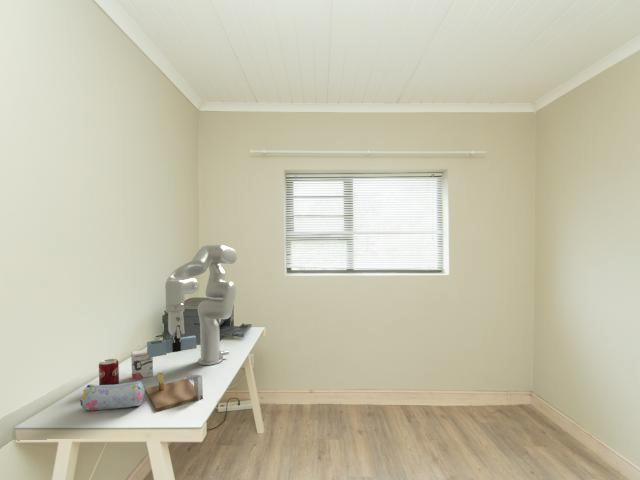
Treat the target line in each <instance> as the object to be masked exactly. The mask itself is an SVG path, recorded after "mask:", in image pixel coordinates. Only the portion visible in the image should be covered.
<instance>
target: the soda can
mask: <svg viewBox="0 0 640 480" xmlns="http://www.w3.org/2000/svg"><path fill="white" fill-rule="evenodd" d="M119 365H120V363H119V360H118V359H117V358H107V359H104V360H101V361H100V362H99V363H98V385H115V384H120V375H119V373H120V372H119V371H120V367H119Z"/></svg>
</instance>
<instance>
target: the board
mask: <svg viewBox="0 0 640 480" xmlns="http://www.w3.org/2000/svg"><path fill="white" fill-rule="evenodd" d="M145 394H146V396H147V397H148V399H149V401H150V402H151V404H152V406H153V407H154V409H155V411H156V413H157V412H160V411H163V410H164V411H165V410H167V409H171V408H174V407H175V408H176V407H178V406H181V405H186V404H189V403H192V402H195V401H198V400H197V397H194V383H192V381H191V380H187V378H183V379H179V380H175V381H171V382H168V383H164V390H163V391H159V384H158V385H155V386H151V387H145ZM203 396H204V395H202V396H201V399H200V400H202V399H204V397H203Z"/></svg>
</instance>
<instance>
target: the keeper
mask: <svg viewBox="0 0 640 480" xmlns="http://www.w3.org/2000/svg"><path fill="white" fill-rule="evenodd" d="M186 379H187V380H189V381H191V382H192V381H193V385H194V397H197V400H196V401H197V402H198V401H201V400H202V399H201V396H202V395H203V392H204V391H203V386H204V385H203V375H198V374H189V375H187V376H186ZM203 396H204V395H203Z"/></svg>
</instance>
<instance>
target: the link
mask: <svg viewBox="0 0 640 480" xmlns="http://www.w3.org/2000/svg"><path fill="white" fill-rule="evenodd" d="M180 339H181V351H180V352H184V351H188V350H194V349H197V336H196V335H189V336H183V337H180ZM146 349H147V354H148V356H149V357H153V358H155V357H161V356H166V355H167V354H171V353H174V352H173V339H171V338H170V339H157V340H152V341H146Z"/></svg>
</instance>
